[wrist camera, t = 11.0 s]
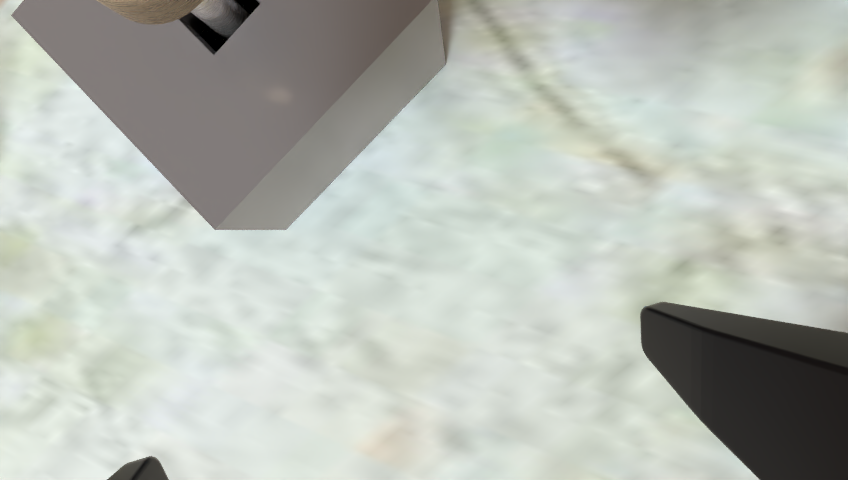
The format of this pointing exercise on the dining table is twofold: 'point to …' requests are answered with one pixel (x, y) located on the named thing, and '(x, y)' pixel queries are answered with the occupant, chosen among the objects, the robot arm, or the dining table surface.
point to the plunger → (182, 12)
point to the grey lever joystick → (248, 92)
